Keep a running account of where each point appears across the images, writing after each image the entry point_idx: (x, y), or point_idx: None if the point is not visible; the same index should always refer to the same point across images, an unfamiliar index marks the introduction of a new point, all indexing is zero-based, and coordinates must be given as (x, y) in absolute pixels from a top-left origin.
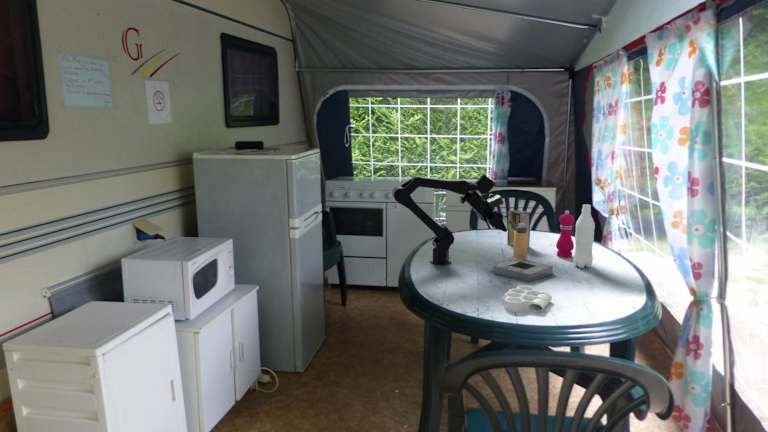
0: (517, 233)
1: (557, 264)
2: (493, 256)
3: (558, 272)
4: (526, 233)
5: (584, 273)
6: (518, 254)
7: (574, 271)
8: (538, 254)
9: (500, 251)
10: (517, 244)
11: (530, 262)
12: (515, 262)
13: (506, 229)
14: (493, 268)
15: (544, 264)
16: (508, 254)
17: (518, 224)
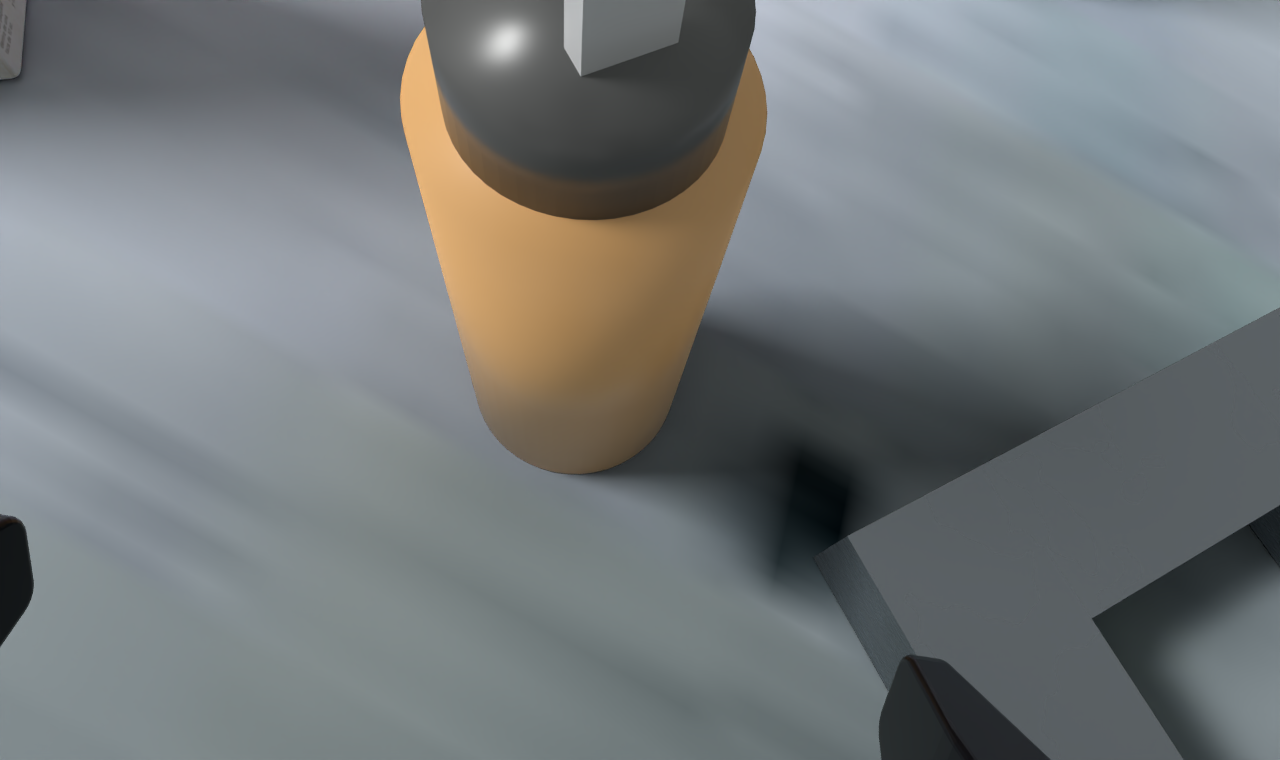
0: (674, 244)
1: (888, 77)
2: (240, 685)
3: (1201, 240)
4: (752, 61)
5: (1243, 31)
6: (657, 408)
7: (1170, 73)
8: (415, 29)
9: (17, 412)
10: (657, 358)
11: (1144, 478)
12: (1128, 721)
13: (983, 714)
14: None
15: (1254, 344)
16: (241, 383)
17: (581, 1)
